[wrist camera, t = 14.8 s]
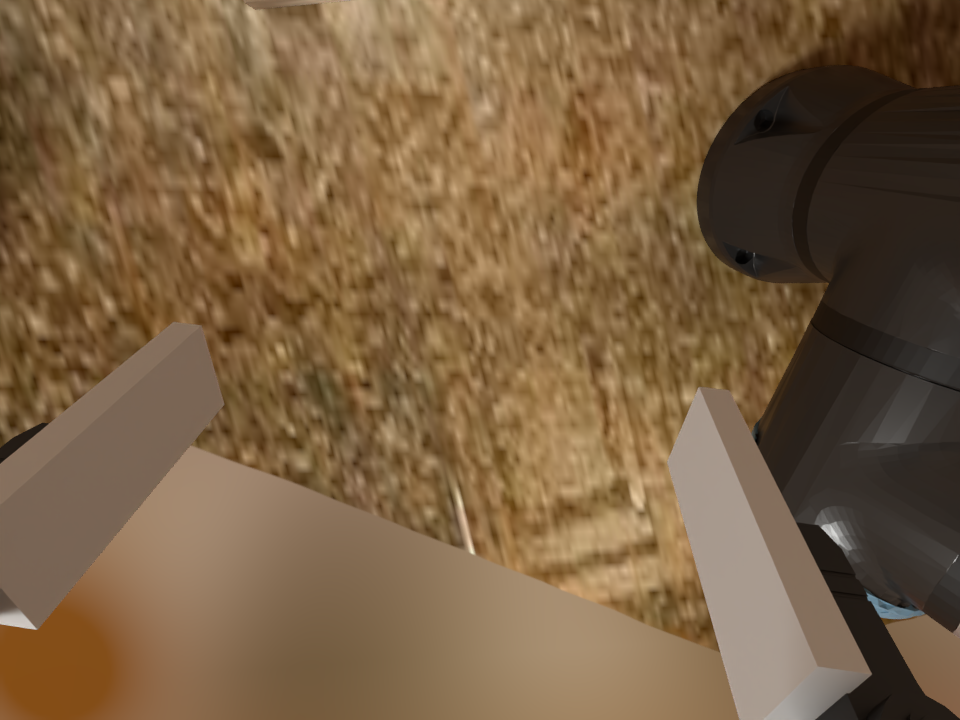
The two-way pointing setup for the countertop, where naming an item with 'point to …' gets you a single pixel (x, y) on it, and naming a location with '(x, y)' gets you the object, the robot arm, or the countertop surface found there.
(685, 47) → the countertop surface
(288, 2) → the beige rectangular box
